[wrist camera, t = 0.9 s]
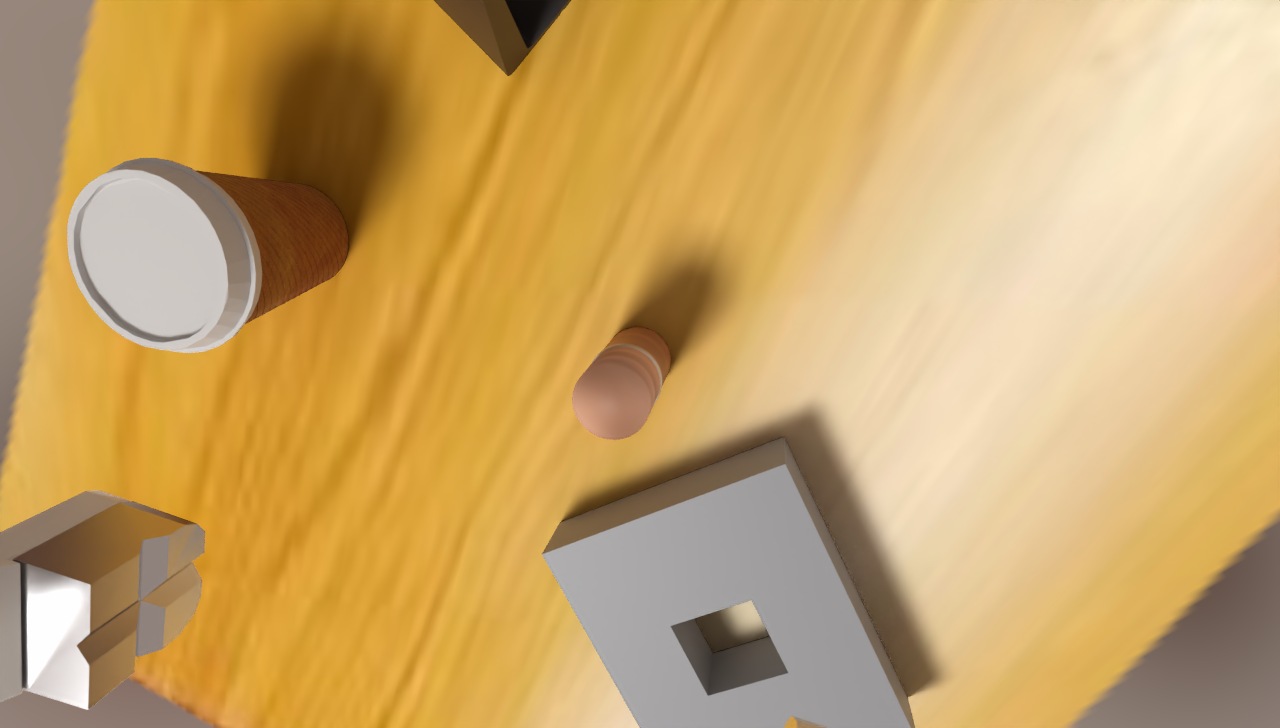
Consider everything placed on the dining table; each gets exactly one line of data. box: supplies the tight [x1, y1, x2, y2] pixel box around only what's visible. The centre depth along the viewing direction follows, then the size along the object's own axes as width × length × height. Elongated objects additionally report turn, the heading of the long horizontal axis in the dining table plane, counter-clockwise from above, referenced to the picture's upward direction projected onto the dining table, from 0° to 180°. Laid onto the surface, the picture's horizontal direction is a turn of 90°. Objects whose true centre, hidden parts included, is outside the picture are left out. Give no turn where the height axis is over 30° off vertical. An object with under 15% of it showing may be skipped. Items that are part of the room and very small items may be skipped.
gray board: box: [542, 437, 915, 728], centre depth 45 cm, size 16×20×4 cm
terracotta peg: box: [572, 327, 671, 440], centre depth 40 cm, size 4×4×8 cm
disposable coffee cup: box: [67, 158, 348, 353], centre depth 39 cm, size 10×10×12 cm
